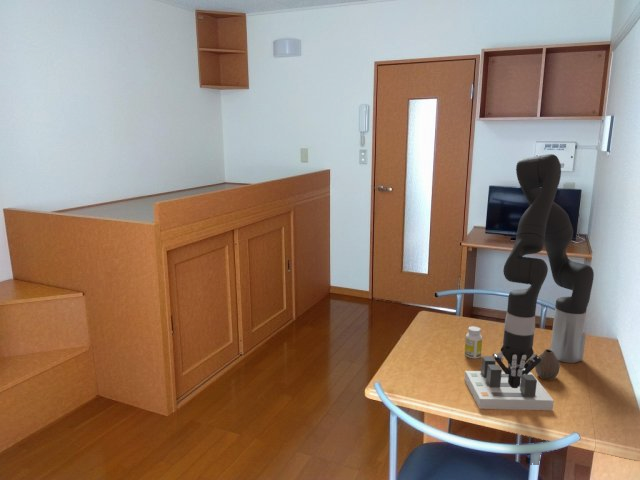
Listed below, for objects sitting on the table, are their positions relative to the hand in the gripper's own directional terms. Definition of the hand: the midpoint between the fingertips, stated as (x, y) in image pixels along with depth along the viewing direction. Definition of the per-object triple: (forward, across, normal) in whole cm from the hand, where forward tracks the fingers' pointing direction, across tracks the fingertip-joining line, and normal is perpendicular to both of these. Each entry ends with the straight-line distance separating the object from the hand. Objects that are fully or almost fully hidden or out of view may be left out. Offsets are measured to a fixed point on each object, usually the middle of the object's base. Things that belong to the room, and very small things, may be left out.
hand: (513, 386), depth 136 cm
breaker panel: (+6, 0, -6) cm, 8 cm away
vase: (+6, -16, -16) cm, 24 cm away
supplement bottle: (+6, +3, -31) cm, 31 cm away
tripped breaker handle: (+2, -4, 0) cm, 5 cm away
